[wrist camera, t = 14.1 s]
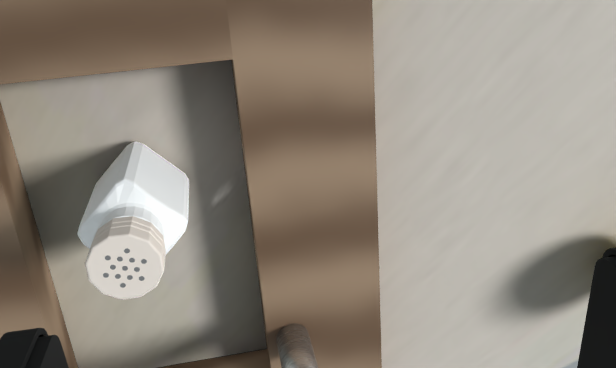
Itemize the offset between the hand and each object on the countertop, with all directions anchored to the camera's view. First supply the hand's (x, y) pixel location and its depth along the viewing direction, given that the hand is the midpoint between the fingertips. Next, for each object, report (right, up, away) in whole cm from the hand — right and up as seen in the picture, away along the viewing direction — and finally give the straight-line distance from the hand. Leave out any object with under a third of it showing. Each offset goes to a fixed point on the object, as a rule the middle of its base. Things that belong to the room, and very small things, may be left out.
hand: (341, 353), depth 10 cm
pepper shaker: (-10, +3, +23) cm, 25 cm away
